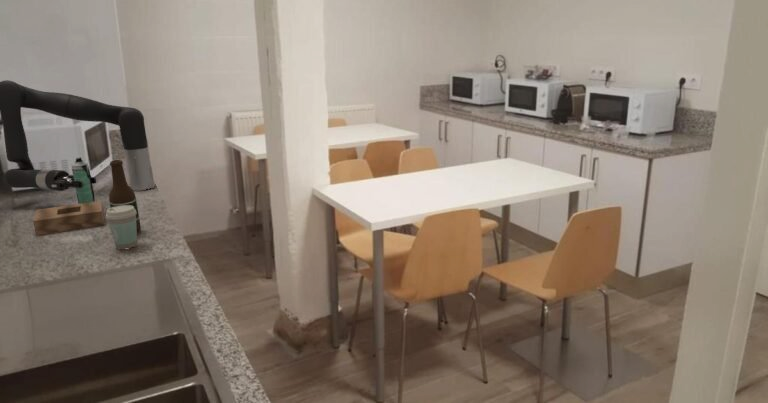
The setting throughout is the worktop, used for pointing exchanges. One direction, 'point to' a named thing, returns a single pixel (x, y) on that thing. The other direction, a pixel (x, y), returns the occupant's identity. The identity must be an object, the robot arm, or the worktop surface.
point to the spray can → (83, 181)
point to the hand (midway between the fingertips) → (88, 182)
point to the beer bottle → (122, 190)
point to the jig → (68, 217)
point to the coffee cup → (123, 225)
